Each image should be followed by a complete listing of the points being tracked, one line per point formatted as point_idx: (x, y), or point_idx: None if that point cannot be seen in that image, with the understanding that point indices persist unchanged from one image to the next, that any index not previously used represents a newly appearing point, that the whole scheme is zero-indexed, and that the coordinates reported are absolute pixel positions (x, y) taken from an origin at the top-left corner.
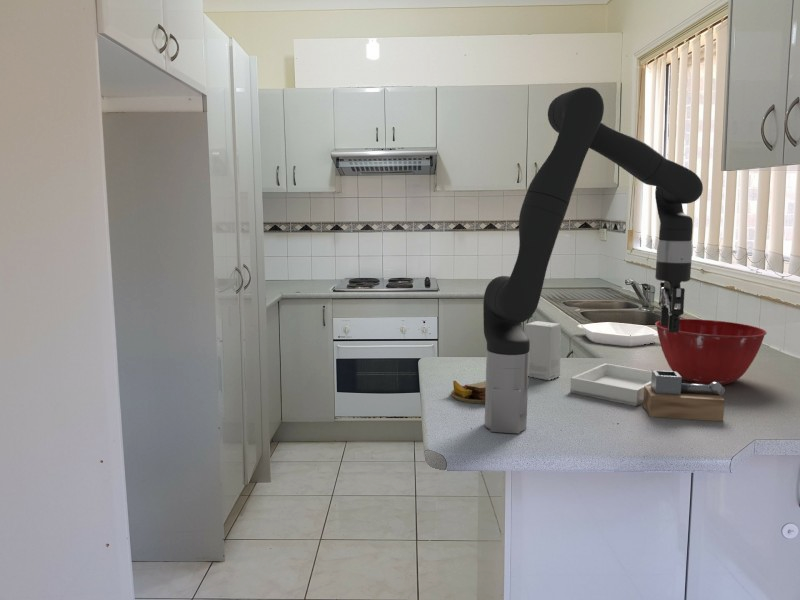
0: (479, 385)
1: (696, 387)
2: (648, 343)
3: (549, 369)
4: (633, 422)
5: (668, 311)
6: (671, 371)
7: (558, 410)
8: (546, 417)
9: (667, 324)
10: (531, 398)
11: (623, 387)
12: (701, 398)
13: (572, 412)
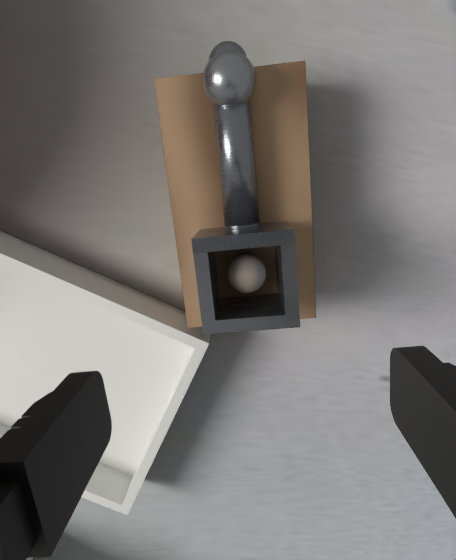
0: None
1: (253, 161)
2: None
3: (28, 558)
4: (369, 341)
5: (34, 484)
6: (201, 260)
7: (313, 502)
8: (377, 524)
9: (100, 393)
10: (229, 557)
11: (188, 381)
12: (304, 149)
13: (321, 474)
